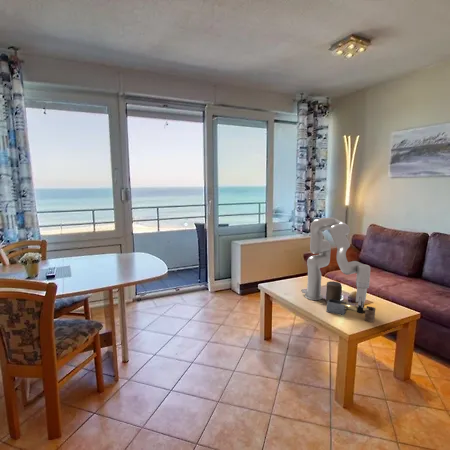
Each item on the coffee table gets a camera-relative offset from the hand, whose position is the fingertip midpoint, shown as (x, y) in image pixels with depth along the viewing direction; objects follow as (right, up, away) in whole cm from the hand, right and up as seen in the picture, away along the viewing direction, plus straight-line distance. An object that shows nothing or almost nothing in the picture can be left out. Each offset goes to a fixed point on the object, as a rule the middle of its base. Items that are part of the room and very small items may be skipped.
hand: (360, 311), depth 190 cm
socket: (+5, -4, -2) cm, 7 cm away
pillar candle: (-9, 0, +24) cm, 26 cm away
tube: (-3, 0, +2) cm, 4 cm away
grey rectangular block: (-12, -2, +8) cm, 15 cm away
